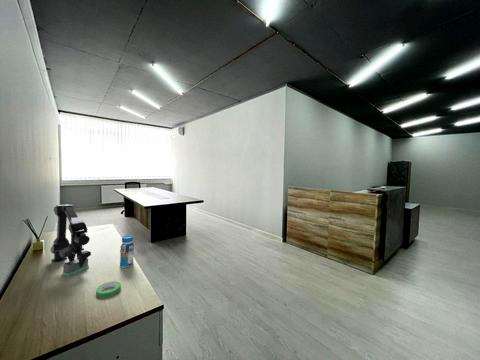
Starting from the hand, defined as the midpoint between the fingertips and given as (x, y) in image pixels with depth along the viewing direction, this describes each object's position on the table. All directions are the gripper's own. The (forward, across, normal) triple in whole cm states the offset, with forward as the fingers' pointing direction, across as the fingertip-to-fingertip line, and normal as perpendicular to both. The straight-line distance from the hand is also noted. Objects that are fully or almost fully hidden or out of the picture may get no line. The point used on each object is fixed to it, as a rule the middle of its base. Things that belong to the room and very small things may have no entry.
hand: (76, 265), depth 124 cm
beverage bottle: (+4, +21, +19) cm, 29 cm away
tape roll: (+4, +38, -6) cm, 39 cm away
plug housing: (+2, 0, 0) cm, 2 cm away
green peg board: (+4, 0, 0) cm, 4 cm away
